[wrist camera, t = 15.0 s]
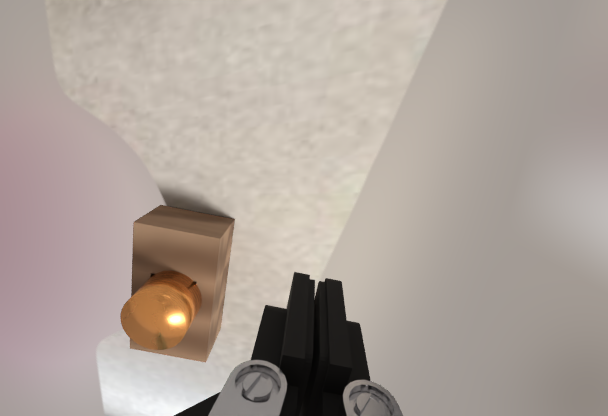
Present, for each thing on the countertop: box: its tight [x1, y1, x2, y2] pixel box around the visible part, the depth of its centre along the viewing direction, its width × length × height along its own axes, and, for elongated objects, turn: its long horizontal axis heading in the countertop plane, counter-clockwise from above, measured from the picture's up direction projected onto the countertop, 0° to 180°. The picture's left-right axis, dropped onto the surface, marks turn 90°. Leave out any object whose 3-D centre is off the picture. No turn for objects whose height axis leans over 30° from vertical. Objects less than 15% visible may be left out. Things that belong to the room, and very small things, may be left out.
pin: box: [121, 271, 202, 350], centre depth 37 cm, size 6×6×10 cm
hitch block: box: [130, 205, 235, 362], centre depth 39 cm, size 16×9×6 cm, turn 169°
